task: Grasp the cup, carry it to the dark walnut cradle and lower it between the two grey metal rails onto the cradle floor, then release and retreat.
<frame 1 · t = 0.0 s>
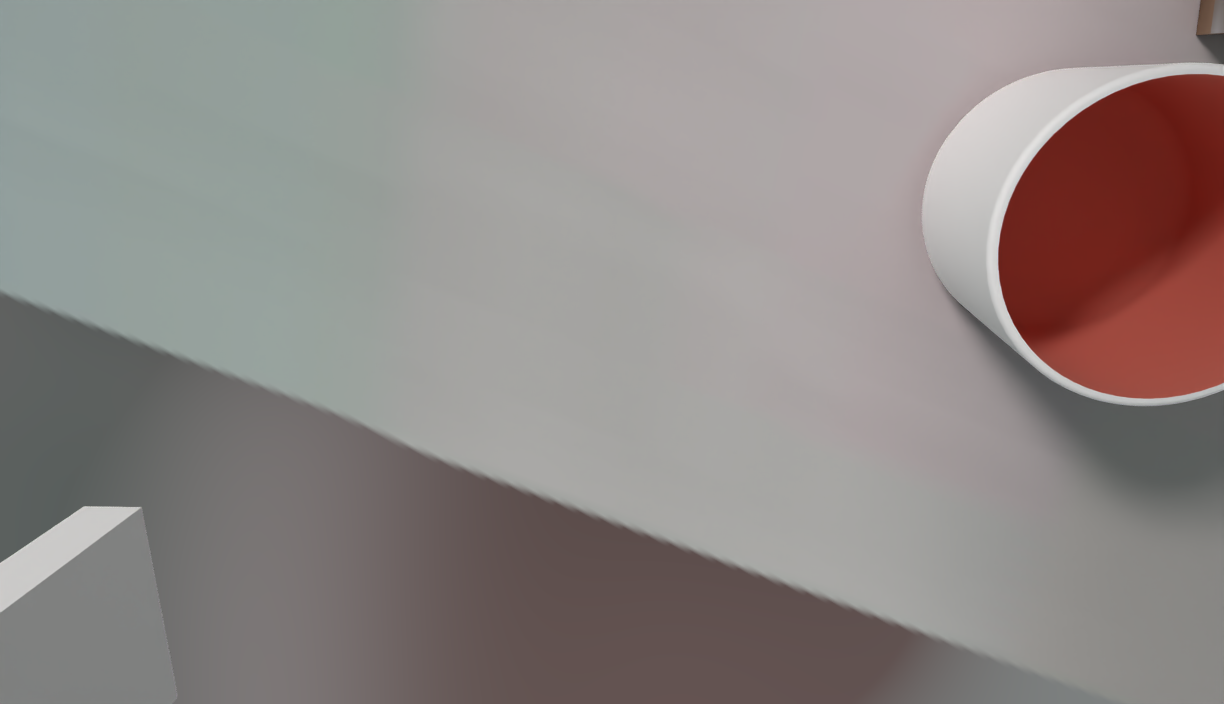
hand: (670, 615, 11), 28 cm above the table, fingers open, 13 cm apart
cup: (1043, 201, 36), on the table
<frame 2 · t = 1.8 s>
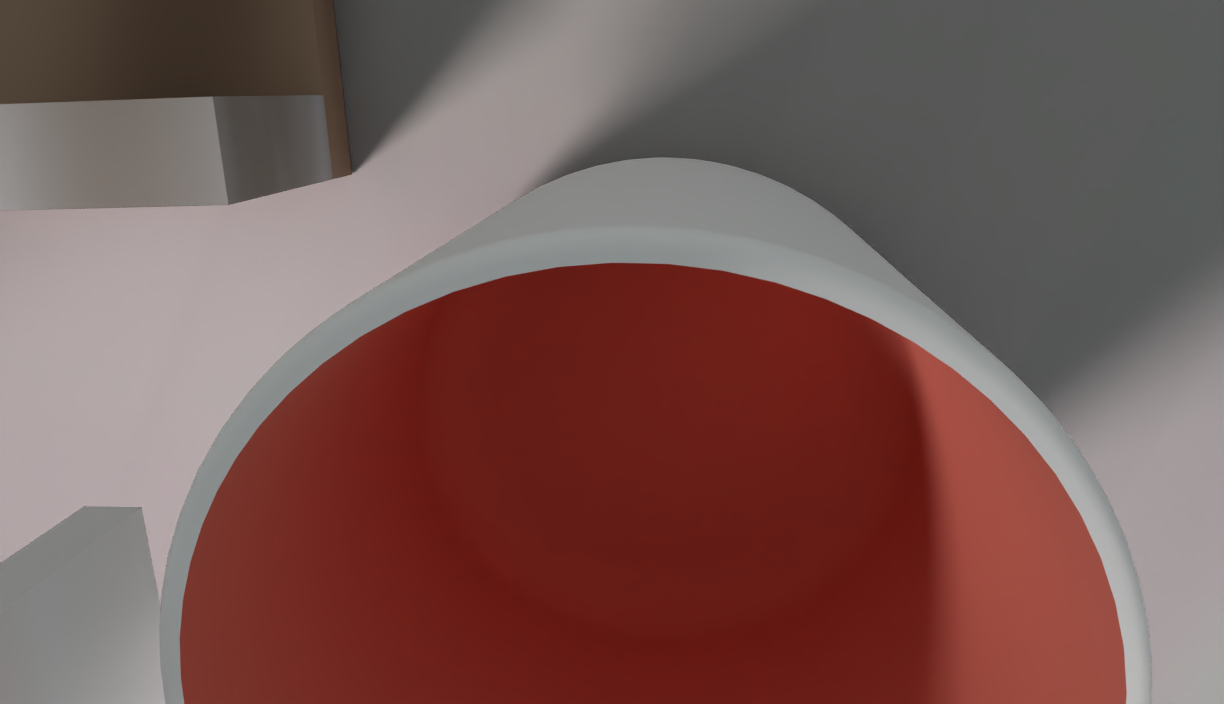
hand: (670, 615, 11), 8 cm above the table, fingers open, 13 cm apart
cup: (663, 398, 19), on the table
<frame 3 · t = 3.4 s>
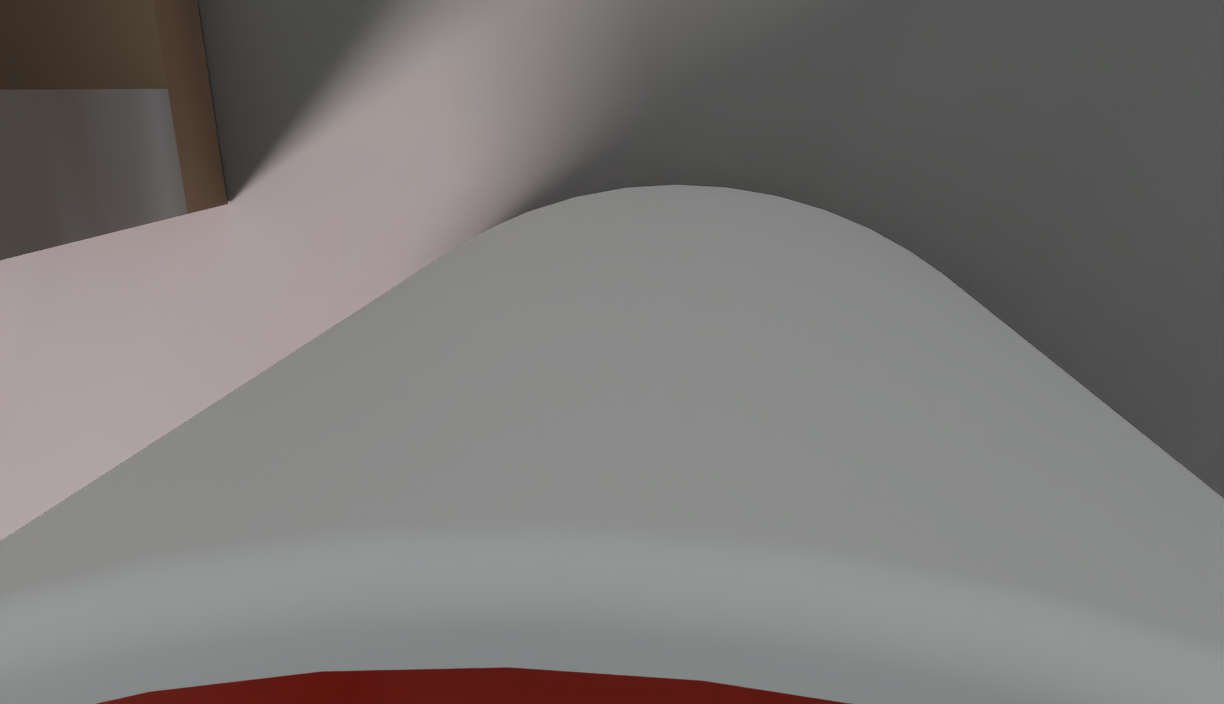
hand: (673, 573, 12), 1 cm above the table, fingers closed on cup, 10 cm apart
cup: (677, 521, 13), on the table, touching gripper
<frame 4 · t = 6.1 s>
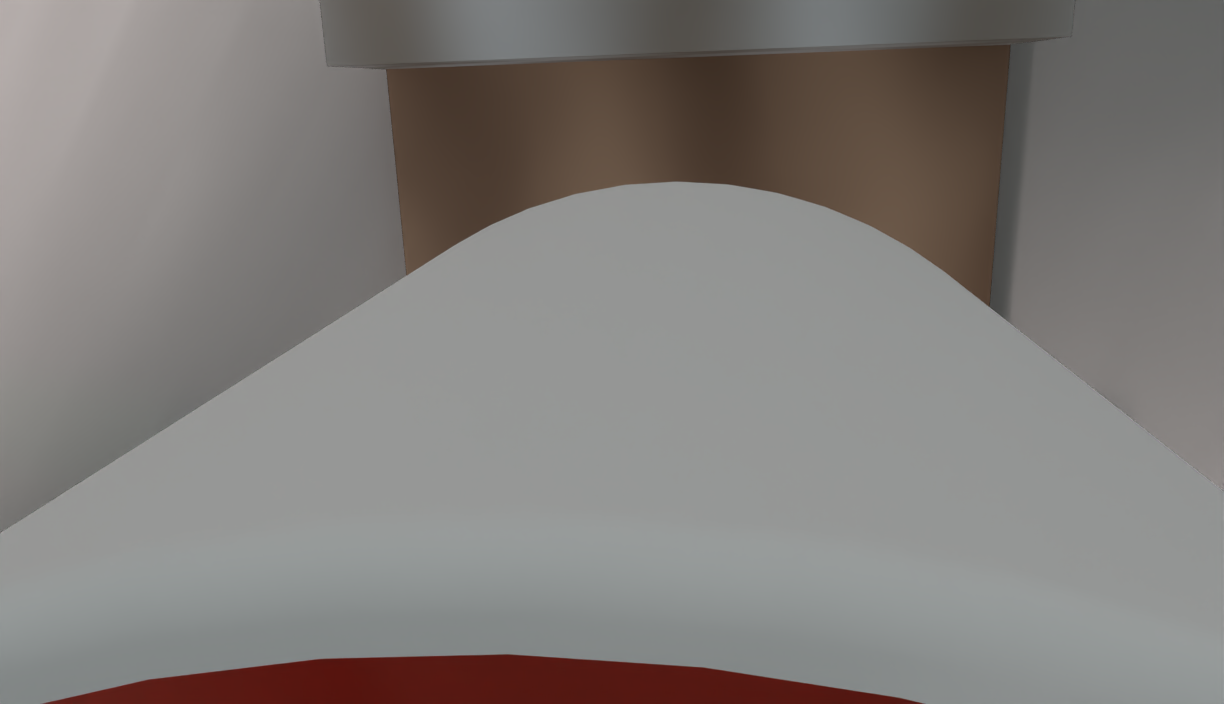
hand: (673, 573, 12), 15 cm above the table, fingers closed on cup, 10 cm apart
cradle: (690, 304, 26), on the table
cup: (677, 519, 13), point 14 cm above the table, touching gripper
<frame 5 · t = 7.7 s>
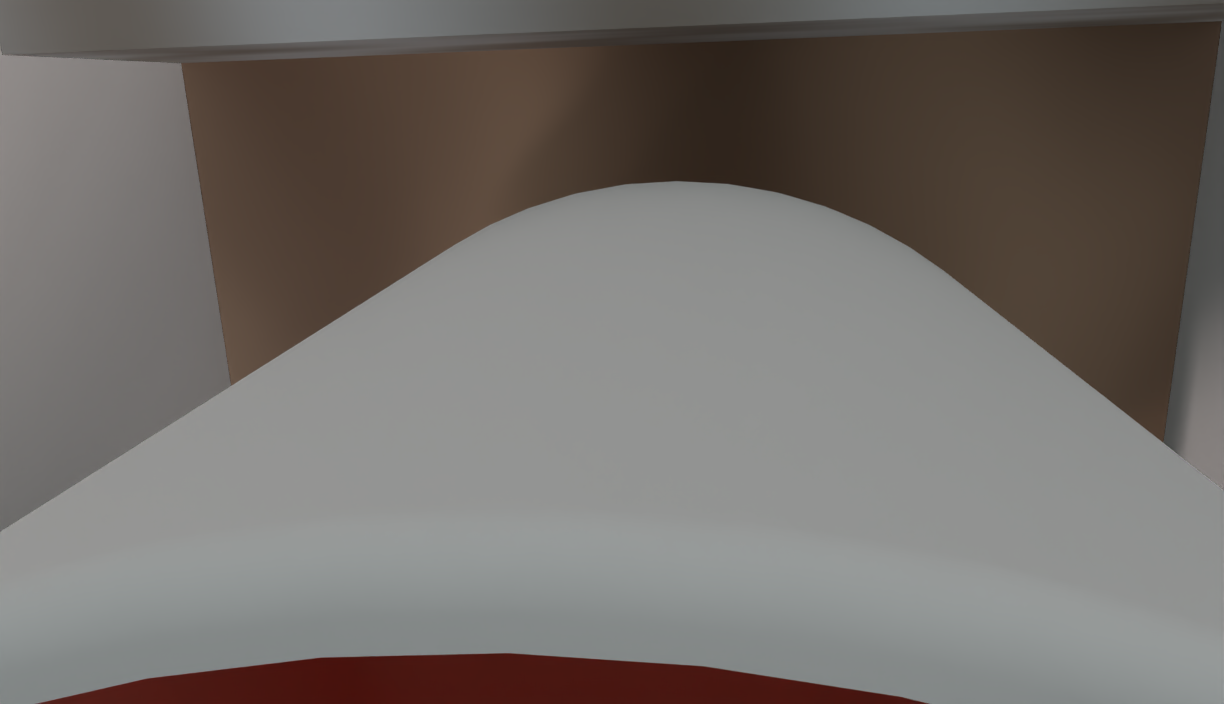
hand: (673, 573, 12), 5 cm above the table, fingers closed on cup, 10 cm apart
cradle: (679, 430, 17), on the table
cup: (677, 519, 13), point 4 cm above the table, touching gripper
when the fingers open (4 cm above the table, at t = 9.0 s): cup drops 1 cm, resting on cradle.
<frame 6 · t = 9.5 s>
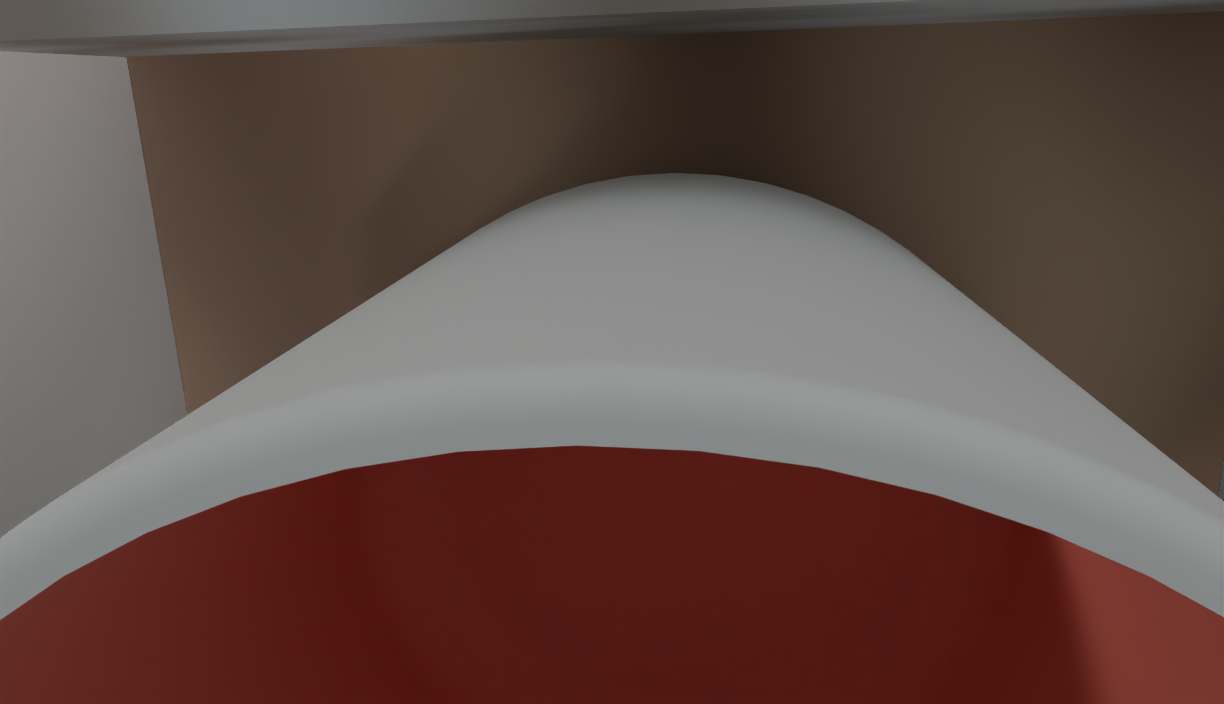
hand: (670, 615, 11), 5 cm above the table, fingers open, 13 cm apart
cradle: (681, 461, 15), on the table
cup: (676, 481, 15), point 1 cm above the table, touching cradle
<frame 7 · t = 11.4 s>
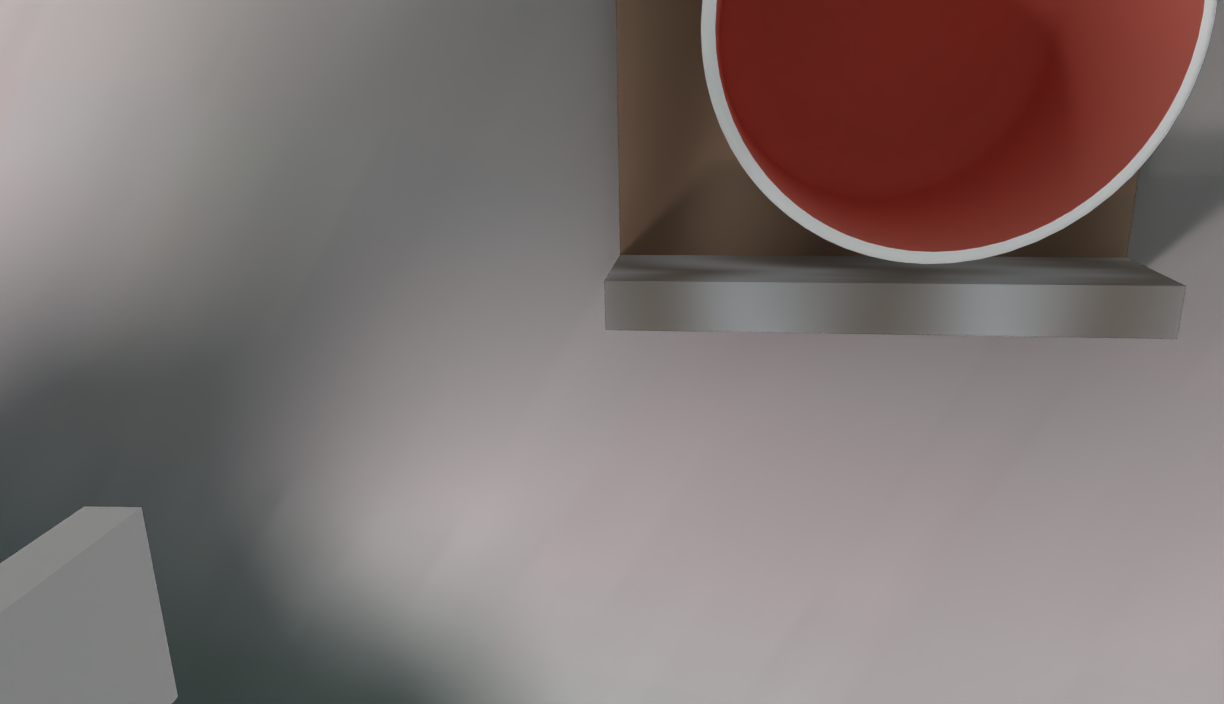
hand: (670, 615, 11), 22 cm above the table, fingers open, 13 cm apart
cradle: (873, 37, 29), on the table
cup: (875, 36, 28), point 1 cm above the table, touching cradle
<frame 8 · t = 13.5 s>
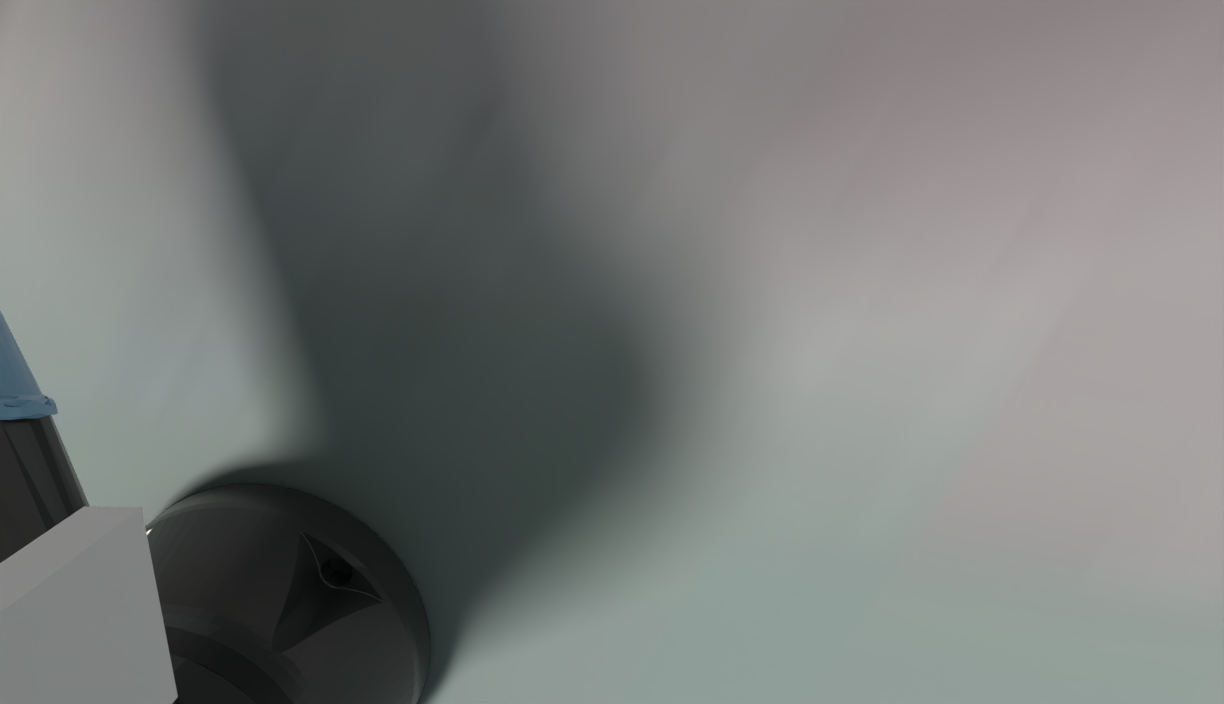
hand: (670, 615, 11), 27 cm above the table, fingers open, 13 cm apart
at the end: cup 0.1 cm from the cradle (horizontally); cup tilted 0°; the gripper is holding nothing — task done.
